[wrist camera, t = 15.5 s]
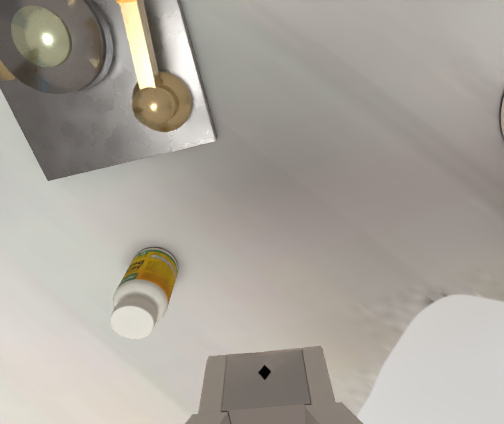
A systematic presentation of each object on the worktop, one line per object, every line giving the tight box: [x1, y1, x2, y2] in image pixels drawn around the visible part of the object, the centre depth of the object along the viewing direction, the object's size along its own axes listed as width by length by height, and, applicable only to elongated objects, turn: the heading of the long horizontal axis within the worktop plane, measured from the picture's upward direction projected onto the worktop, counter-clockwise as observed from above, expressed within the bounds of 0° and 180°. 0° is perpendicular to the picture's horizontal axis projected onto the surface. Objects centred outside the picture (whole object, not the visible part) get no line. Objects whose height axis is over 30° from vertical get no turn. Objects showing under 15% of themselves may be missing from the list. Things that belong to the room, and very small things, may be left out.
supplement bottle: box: [110, 248, 178, 339], centre depth 35 cm, size 5×5×10 cm
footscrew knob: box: [116, 0, 192, 132], centre depth 26 cm, size 10×5×5 cm, turn 7°
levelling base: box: [0, 0, 217, 181], centre depth 27 cm, size 17×22×6 cm
